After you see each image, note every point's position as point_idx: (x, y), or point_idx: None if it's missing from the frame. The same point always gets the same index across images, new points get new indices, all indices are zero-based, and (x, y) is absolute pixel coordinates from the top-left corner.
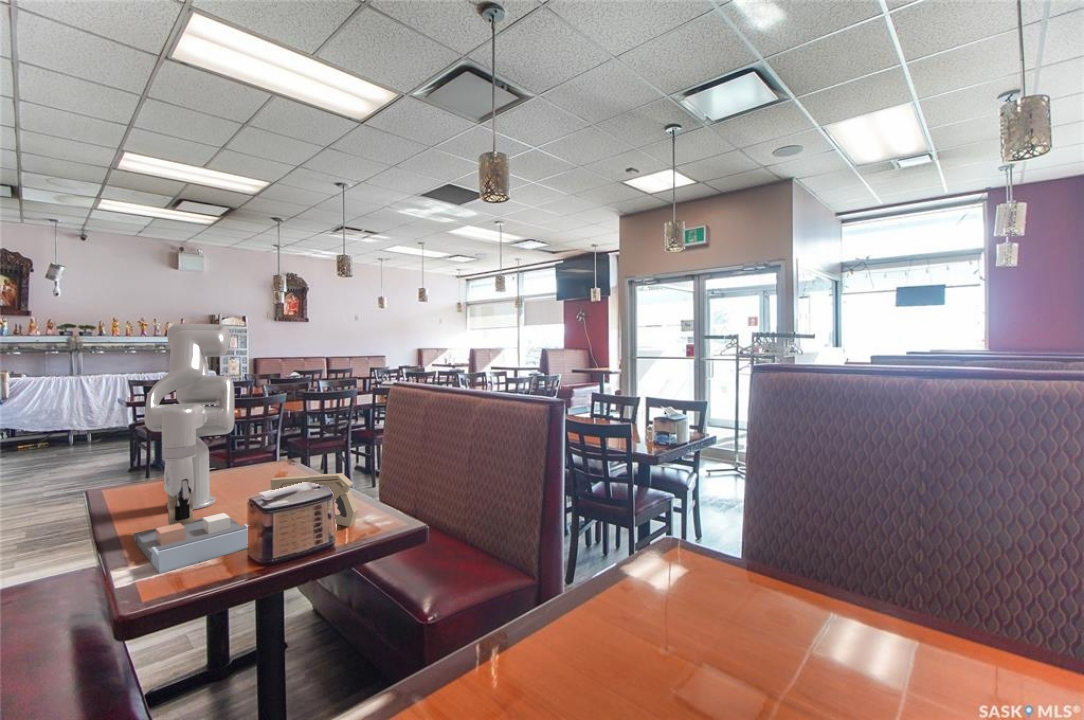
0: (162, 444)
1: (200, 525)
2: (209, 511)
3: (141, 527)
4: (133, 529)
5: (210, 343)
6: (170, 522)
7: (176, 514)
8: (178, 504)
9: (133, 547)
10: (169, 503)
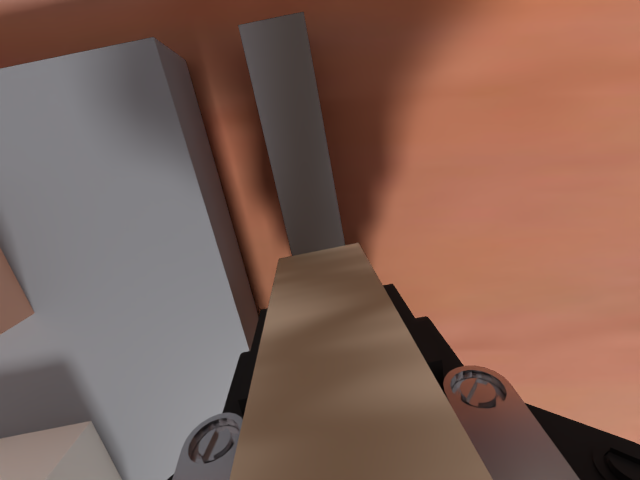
0: None
1: (170, 411)
2: (580, 407)
3: (579, 78)
4: (576, 27)
5: None
6: (291, 268)
7: (255, 344)
8: (186, 460)
9: (153, 35)
10: (320, 370)
